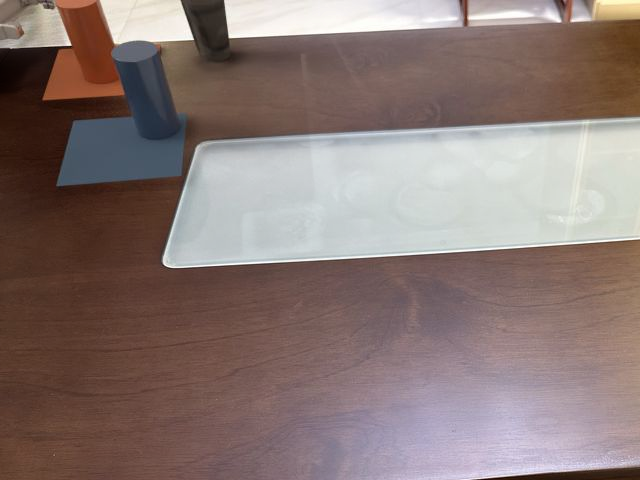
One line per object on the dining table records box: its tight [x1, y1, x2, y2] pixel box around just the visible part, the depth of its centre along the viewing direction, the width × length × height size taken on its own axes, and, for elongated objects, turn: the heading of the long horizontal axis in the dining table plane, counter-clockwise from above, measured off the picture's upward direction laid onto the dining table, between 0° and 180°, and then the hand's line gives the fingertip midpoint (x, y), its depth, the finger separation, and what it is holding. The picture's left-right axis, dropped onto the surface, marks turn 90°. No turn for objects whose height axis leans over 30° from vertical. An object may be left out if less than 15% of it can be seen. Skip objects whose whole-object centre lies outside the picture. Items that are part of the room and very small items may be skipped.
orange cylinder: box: [55, 0, 119, 84], centre depth 103 cm, size 6×6×11 cm
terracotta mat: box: [42, 43, 162, 101], centre depth 108 cm, size 15×15×1 cm
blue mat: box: [55, 112, 188, 187], centre depth 96 cm, size 15×15×1 cm
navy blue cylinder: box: [111, 39, 180, 140], centre depth 95 cm, size 6×6×11 cm
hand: (38, 16), depth 102 cm, fingers open, 8 cm apart
